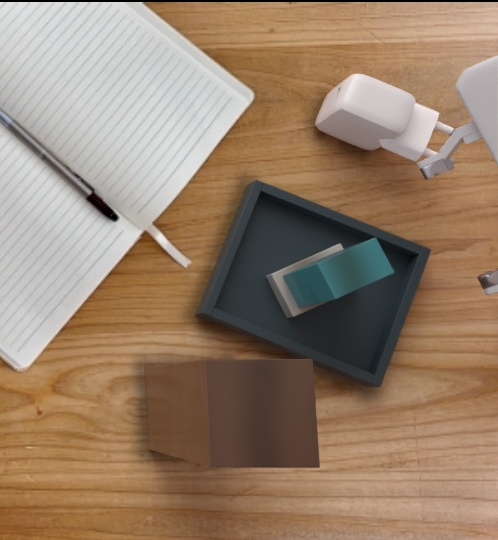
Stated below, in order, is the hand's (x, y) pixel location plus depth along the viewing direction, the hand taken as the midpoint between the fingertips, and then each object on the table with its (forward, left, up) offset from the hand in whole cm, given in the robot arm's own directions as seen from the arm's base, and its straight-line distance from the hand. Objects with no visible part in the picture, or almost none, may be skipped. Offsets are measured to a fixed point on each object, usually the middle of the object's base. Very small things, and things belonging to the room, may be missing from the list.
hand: (452, 227), depth 64 cm
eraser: (+5, +5, -10) cm, 12 cm away
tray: (+5, +5, -11) cm, 13 cm away
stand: (+10, +19, -11) cm, 24 cm away
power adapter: (+4, -10, -11) cm, 15 cm away
